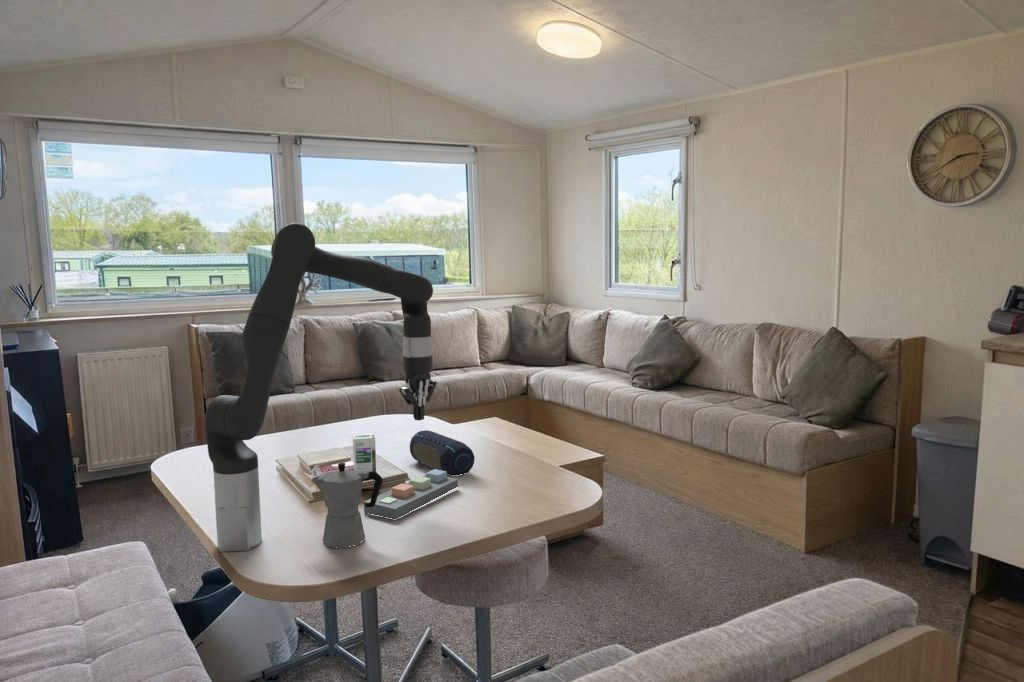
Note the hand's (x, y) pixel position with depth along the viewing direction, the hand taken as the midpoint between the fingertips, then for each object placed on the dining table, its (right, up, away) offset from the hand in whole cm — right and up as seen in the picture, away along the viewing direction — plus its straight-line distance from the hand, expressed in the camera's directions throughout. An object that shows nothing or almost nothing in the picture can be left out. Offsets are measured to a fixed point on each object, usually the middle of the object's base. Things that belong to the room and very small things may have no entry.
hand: (419, 419), depth 186 cm
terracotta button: (-4, -20, -3) cm, 21 cm away
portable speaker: (+3, -18, +28) cm, 34 cm away
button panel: (-2, -21, 0) cm, 21 cm away
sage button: (0, -19, +2) cm, 19 cm away
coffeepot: (-12, -25, -25) cm, 37 cm away
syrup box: (-16, -20, +12) cm, 28 cm away
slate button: (+4, -19, +8) cm, 21 cm away
